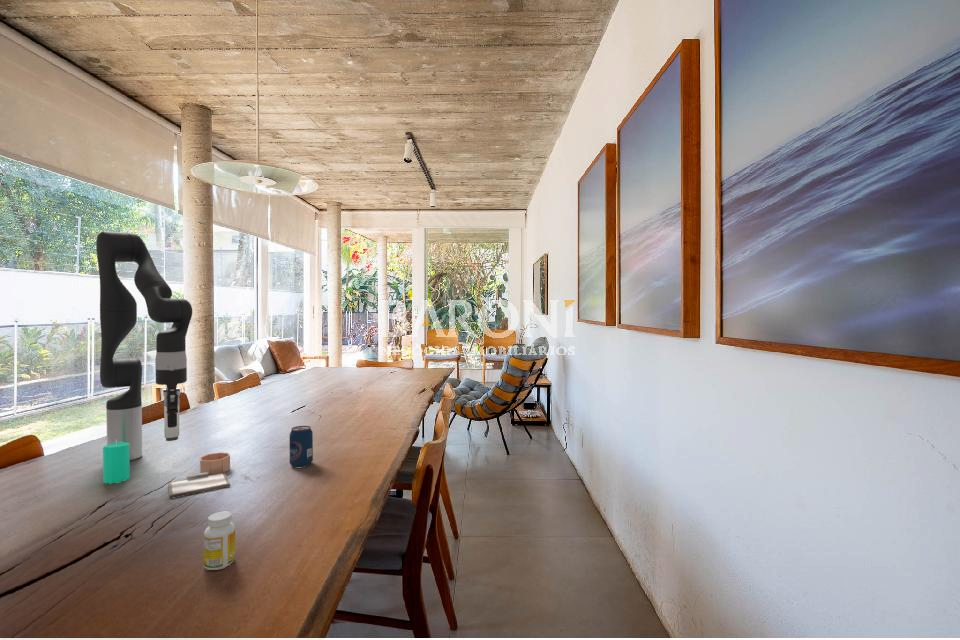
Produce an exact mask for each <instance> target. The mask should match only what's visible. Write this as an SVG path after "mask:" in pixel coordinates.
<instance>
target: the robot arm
mask: <svg viewBox="0 0 960 640" xmlns="http://www.w3.org/2000/svg"><path fill="white" fill-rule="evenodd" d="M95 243H96V244H95V245H96V246H95V247H96V255H97V265H98V273H99V318H100V319H99V321H100V335H101V337H100V339H101V343H100V344H101V346H100V365H99V381H100V384H101V386H102V387H103V388H105V389H114V388H125V387H129V389H127V390H126V391H124V393H122V394H120V395H117V396H114V397H111V398H109V399H108V400H106V405H105V406H106V407H105V408H106V415H105V416H106V445H108V444H112V443H116V439H117V442H125V443H129V461H133V460H138V458H141V457H142V456H143V412H142V410H143V408H142V407H143V405H142V401H143V400H142V382H143V381H142V379H143V363H142V362H141V360H140V359H139V358H121V359H114V356H115V354H116V351H117V350H118V348H119V346H120V345H121V343H122V342H123V341H124V340H125V339H126V337H127V336H128V335H129V334H130V332H131V331H132V330H133V329H134V327H135V326H136V324H137V321H138V313H137V312H138V310H137V309H138V305H137V301H136V299H135V297H134V296H133V294H132V293H131V292H130V291H129V289H128V288H127V287H126V286H125V285H124V283H123V282H122V281H121V279H120V277H119V276H118V272H117V268H116V263H131V262H132V263H133V262H134V263H136V264H137V265H138V266H137V269H136V270H135V274H134V277H133V281H134V285H135V287H136V289H137V290H138V292H139V293H140V294H141V296H142V297H143V298H144V301H145V303H146V304H145V305H146V308H147V313H148V317H149V318H150V319H151V320H152V321H154V322H155V323H160V324H167V323H172V325H171V327H170V328H169V329H167V330H162V331H159V332H158V333H157V334H156V339H155V340H156V342H155V343H156V344H155V345H156V347H155V349H156V352H155V353H156V354H155V360H154V362H155V384H156V385H161V386H166V388H165V389H163V391H162V393H163V394H162V395H163V400H164V399H165V406H166V407H167V412H166V414H167V420H168V427H169V428H171V427H176V426H177V413H178V405H179V406H180V403H179V398H180V396H181V390H180V387H178V384H184V383H186V382H187V380H188V363H187V361H188V359H187V351H186V348H187V347H186V341H187V340H186V336H187V333H188V329H189V326H190V322H191V320H192V317H193V307H192V304H191V303H190V302H189V301H188V300H187V299H186V298H185V299H184V298H172V296H173V290H172V289H171V287H170V286H169V284H168V283H167V282H166V280H165V279H164V278H163V277H162V276H161V274H160V272H159V271H158V269H157V267H156V265H155V262H154V260H153V257H152V255H151V254H150V252H149V249H148V247H147V246H146V243H145V242H144V240H143V239H142V237H141V236H139V234H137V233H135V232H134V233H133V232H126V231H125V232H123V231H121V232H120V231H101V232H98V235H97V237H96V242H95ZM177 387H178V388H177ZM174 406H175V409H169V407H174Z"/></svg>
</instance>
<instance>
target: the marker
mask: <svg viewBox="0 0 960 640" xmlns="http://www.w3.org/2000/svg"><path fill="white" fill-rule="evenodd" d="M180 401H181V400H180V397H179V405H178V413H177V426H176V427H171V428H169V427H168V420H167V414H166V412H167V407H166V406H165V399H164V398H163V405H164V406H163V409H164V410H163V411H164V412H163V414H164V419H163V421H164V422H163V423H164V432H163V433H164V435H163V436H164V438H165V441H166V442H174V441H177V440H179V436H180ZM169 409H175V406H174V407H169Z"/></svg>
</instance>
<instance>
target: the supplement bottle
mask: <svg viewBox="0 0 960 640" xmlns="http://www.w3.org/2000/svg"><path fill="white" fill-rule="evenodd" d="M232 519H233V514H232V512H231V511H228V510H227V511H224V510H223V511H218V512H214V513H212V514H211V515H209V516H208V517H207V525H208V526H207V527H206V528H205V530H204V532H203V568H204V567H205V568H208V569H217V568H221V567H224V566H226V565H228V564H230V563H231V562H232V561H233V560H234V559H235V560H236V525H235V523H234V522H232ZM205 568H204V569H205Z"/></svg>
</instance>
